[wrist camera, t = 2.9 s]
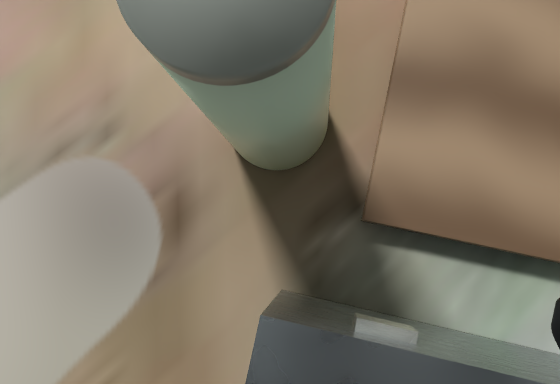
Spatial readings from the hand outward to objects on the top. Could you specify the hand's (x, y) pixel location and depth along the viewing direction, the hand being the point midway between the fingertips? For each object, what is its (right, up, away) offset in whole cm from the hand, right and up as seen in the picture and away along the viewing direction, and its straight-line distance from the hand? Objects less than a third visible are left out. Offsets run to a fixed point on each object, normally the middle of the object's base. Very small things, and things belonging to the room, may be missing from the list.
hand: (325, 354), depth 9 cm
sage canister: (-1, +7, +14) cm, 15 cm away
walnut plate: (+10, +6, +13) cm, 18 cm away
